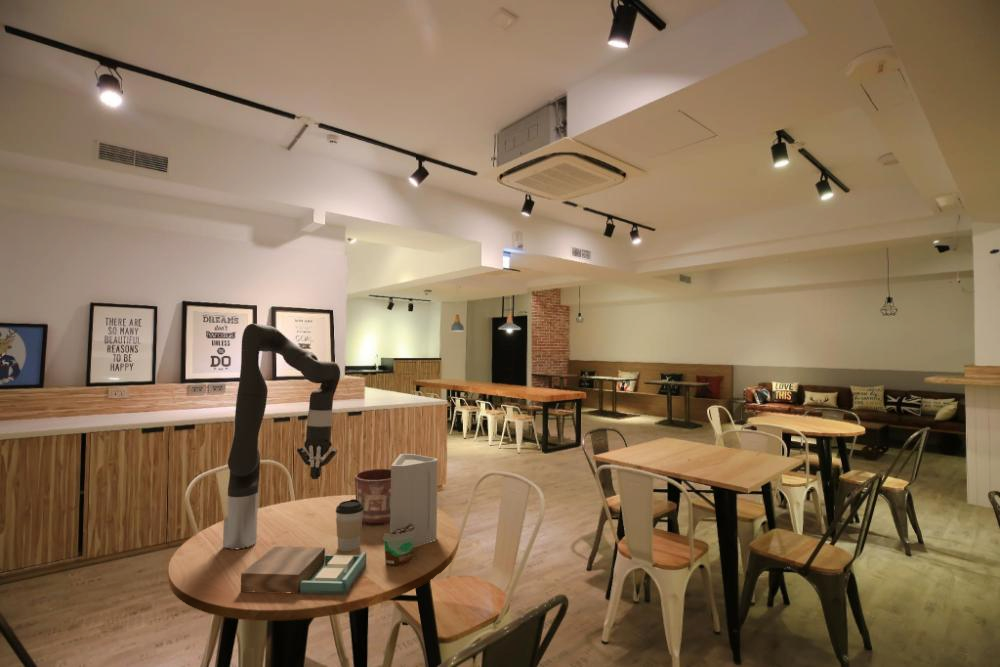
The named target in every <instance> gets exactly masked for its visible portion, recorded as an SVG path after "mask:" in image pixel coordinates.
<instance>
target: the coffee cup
mask: <svg viewBox="0 0 1000 667" xmlns="http://www.w3.org/2000/svg"><path fill="white" fill-rule="evenodd" d="M363 509H364V508H363V505H362V504H360V502H359V501H358V500H356V498H353V499H352V498H351V499H350V500H349V499H348V500H344V501H342V502H340V503H339V504H338V505H337V506H336V508H335V513H336V519H335V522H336V537H337V550H339V551H340V552H352V551H355V550H356V551H357V550H358V549H359V548H360V544H361V542H360V541H361V535H362V526H363V522H362V519H363V516H362V513H363Z"/></svg>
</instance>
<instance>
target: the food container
mask: <svg viewBox="0 0 1000 667" xmlns="http://www.w3.org/2000/svg"><path fill="white" fill-rule="evenodd" d="M415 535H416V528H415V526H414V524H412V523H409V526H407V527H404V528H401V529H397V530H395V531H394V532H392V533H391V534H390V533H385V532H384V533H383V537H382V541H383V542H384V559H385V565H386V566H388V567H400V566H399V565H401V566H404V564H405V565H407V564H409V563H411V561H413V560H412V558H413V550H414V549H413V548H414V547H413V542H414V536H415ZM389 565H390V566H389Z"/></svg>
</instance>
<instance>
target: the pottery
mask: <svg viewBox="0 0 1000 667" xmlns="http://www.w3.org/2000/svg"><path fill="white" fill-rule="evenodd" d="M354 484H355V486H354V487H355V499H356V500H358V501H359V502H360V504H362V505H363V508H364V509H363V513H362V516H363V519H362V524H364V525H368V526H380V524H382V525H385V524H384V523H386V524H388V523H390V522H389V521H390V502H391V468H374V469H367V470H362V471H360V472H357V473H356V474H355V476H354ZM387 522H388V523H387Z"/></svg>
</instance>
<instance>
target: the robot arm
mask: <svg viewBox="0 0 1000 667" xmlns="http://www.w3.org/2000/svg"><path fill="white" fill-rule="evenodd" d="M240 350H241V355H240V357H241V358H240V361H241V362H240V373H239V382H238V388H237V393H236V400H235V402H236V403H235V411H234V412H235V414H234V434H233V438H232V444H231V448H230V452H229V456H228V459H227V467H228V470H229V478H228V486H227V500H226V501H227V502H226V504H227V505H226V506H227V509H226V517H225V518H223V532H222V533H223V534H222V548H226V547H227V548H231V549H230V550H234V549H235V550H237V549H236V548H243V547H247V548H249V547H248V546H250V547H252V546H254V545H255V544H256V543H257V539H258V538H257V537H258V510H259V485H260V473H261V472H260V470H261V469H260V468H261V453H260V451H259V449H258V448H259V447H258V445H259V444H258V443H259V434H260V430H261V426H262V423H263V420H264V416H265V413H266V412H265V411H266V406H267V400H268V385H267V383H266V380H265V378H264V376H263V374H262V372H261V368H260V364H259V363H260V362H259V359H260V352H270V353H271V352H272V353H275V354H278V355H280V356H282V357H283V360H284V362H285V363H286V364H287V365H288V366H290V367H291V368H293V369H294V370H297V371H298V372H300V373H301V375H302V376H303V377H304V378H305V379H306V380H307V381H309V382H311V383H313V384H320V387H319V388H318V389H317V390H314V391H312V392H310V395H309V403H308V404H309V406H308V413H307V420H306V430H305V431H306V432H305V433H306V434H305V441H304V444H303V445H302V446H301V447H298V448H296V452H297V453H298V454H299V457H300V459H301V460H302V461H303V463H304V464H305V465H306V466H309V467H310V473H309V474H310V475H309V476H310V478H311V480H318V479H320V477H321V476H322V468H323V467H325V466H327V465H328V464H329V463H330V462H331V460H333V458H334V457H335V456H336V455H337V454H338V452H339V451H338V449H335V448H334V447H333V444H332V442H331V439H332V430H333V429H332V428H333V404H334V395H335V393H336V391H337V387H338V385H339V381H340V378H341V368H340V366H339V365H338V363H336V362H335V361H326V360H325V361H322V360H320V361H319V360H318V357H317V356H316V355H315V354H314V353H312V352H311V351H309V350H306V349H305V348H303V347H301V346H299V345H298V344H296V343H295V342H293V341H292V340H291V339H289V338H288V337H287V336H286V335H285V334H283V333H282V332H281V331H280V329H277V328H276V327H274V326H272V325H266V324H259V323H249V324H248V325H246V327H245V328H244V330H243V333H242V337H241V349H240ZM326 454H327V456H326ZM325 456H326V457H325ZM253 544H254V545H253ZM251 545H252V546H251ZM227 548H226V549H227ZM243 549H244V548H243Z"/></svg>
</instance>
